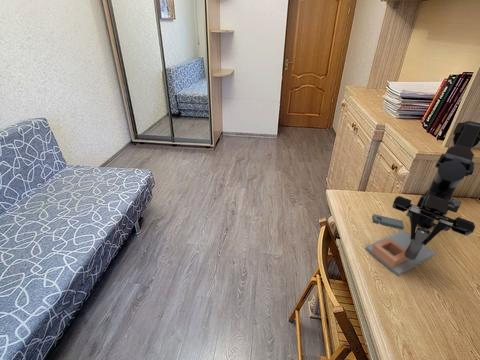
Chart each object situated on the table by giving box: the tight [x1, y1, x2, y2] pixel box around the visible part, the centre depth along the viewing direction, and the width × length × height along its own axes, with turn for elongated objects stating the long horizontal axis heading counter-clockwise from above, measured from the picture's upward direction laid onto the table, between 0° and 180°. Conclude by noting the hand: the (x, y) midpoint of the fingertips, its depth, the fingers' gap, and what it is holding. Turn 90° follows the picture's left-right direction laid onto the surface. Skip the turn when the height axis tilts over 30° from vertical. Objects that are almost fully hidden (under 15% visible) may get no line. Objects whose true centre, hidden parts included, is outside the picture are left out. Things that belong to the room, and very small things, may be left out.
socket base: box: [364, 229, 437, 277], centre depth 86 cm, size 19×12×4 cm, turn 117°
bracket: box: [371, 213, 405, 231], centre depth 99 cm, size 4×10×2 cm, turn 69°
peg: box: [404, 226, 431, 260], centre depth 74 cm, size 3×3×10 cm
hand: (417, 242), depth 72 cm, fingers closed on peg, 3 cm apart
